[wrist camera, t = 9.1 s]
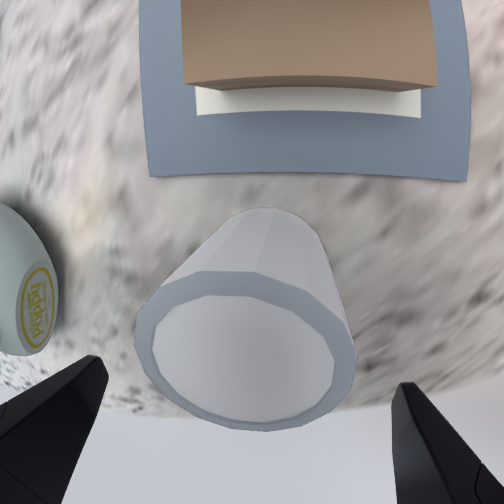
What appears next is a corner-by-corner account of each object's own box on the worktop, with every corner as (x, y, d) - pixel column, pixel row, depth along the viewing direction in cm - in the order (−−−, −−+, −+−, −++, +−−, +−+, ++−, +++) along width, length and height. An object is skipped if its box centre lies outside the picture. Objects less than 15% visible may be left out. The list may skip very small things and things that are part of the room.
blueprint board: (433, -81, 6) (437, -87, 5) (460, 179, 12) (467, 183, 11) (148, -76, 8) (142, -82, 7) (155, 174, 14) (148, 177, 13)
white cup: (170, 246, 16) (95, 334, 9) (282, 162, 13) (261, 216, 7) (254, 340, 17) (228, 447, 11) (365, 281, 15) (393, 394, 8)
